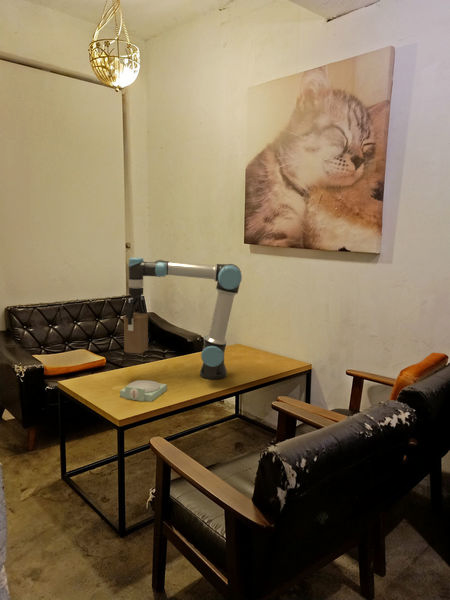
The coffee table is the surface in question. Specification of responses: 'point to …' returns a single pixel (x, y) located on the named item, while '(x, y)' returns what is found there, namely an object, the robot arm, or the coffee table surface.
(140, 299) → the robot arm
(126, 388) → the scale
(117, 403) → the coffee table surface
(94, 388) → the coffee table surface
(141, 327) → the wooden block
